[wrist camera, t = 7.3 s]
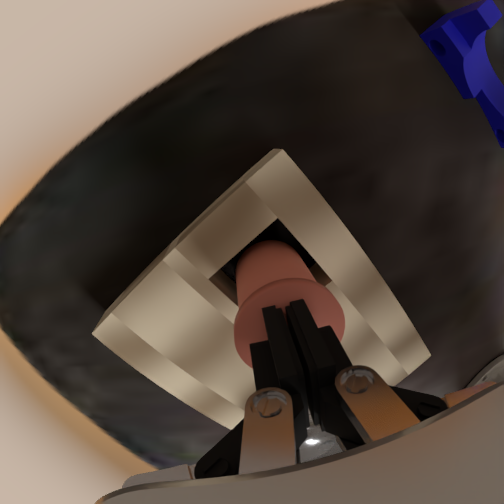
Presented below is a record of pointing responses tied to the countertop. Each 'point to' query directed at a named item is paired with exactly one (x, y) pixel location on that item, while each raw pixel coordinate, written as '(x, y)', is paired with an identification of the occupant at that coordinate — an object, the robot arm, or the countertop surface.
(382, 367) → the board
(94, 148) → the countertop surface
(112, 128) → the countertop surface
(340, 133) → the countertop surface
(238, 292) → the red plug
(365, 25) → the countertop surface
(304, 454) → the grey plug
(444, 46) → the cable clip
